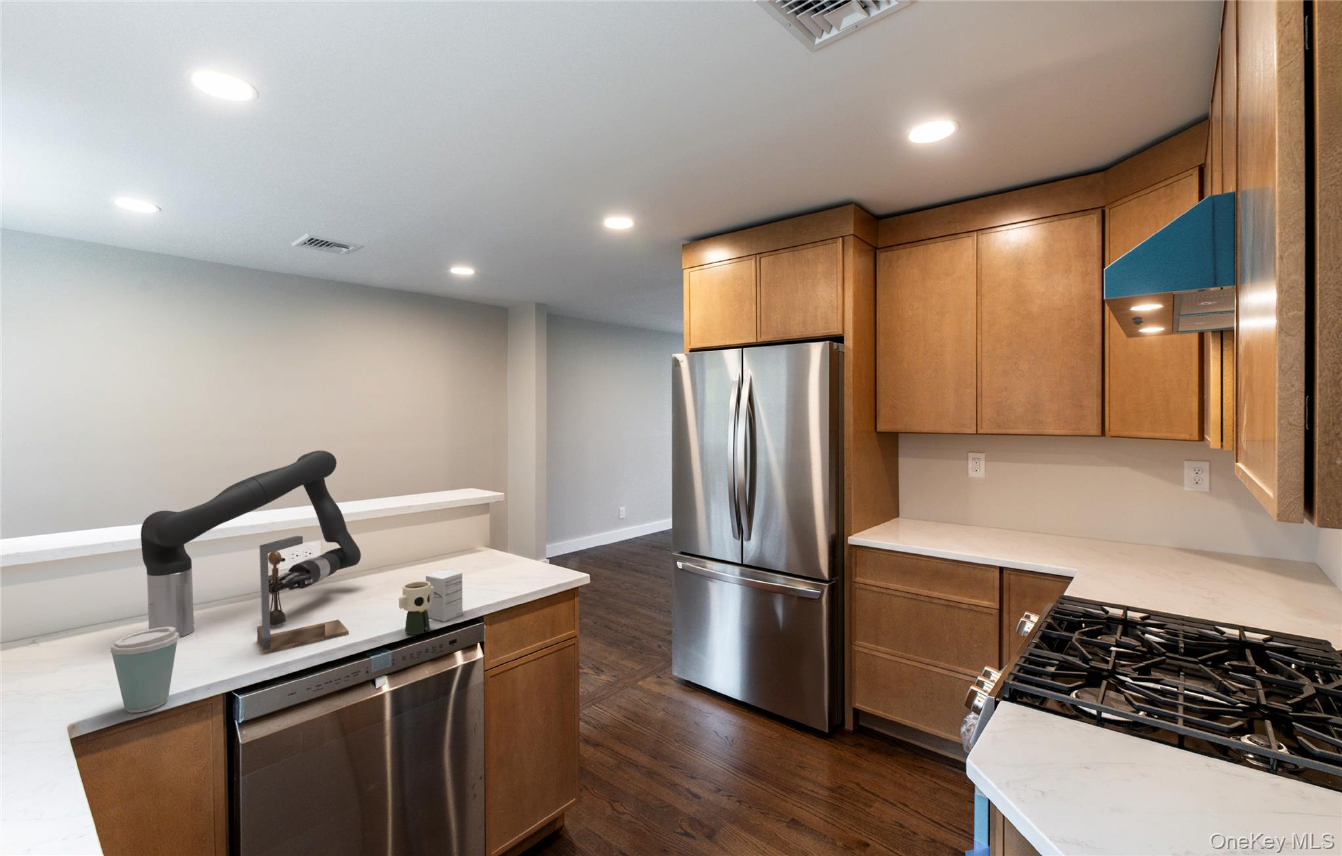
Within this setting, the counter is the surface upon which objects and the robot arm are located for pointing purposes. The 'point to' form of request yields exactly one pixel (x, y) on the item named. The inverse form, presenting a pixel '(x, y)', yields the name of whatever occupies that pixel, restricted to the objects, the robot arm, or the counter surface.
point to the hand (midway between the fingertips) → (267, 590)
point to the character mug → (416, 605)
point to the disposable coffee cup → (145, 667)
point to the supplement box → (445, 595)
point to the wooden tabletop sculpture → (276, 614)
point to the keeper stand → (264, 637)
